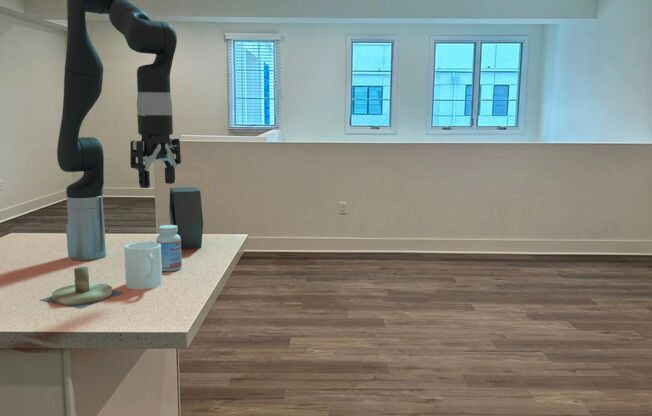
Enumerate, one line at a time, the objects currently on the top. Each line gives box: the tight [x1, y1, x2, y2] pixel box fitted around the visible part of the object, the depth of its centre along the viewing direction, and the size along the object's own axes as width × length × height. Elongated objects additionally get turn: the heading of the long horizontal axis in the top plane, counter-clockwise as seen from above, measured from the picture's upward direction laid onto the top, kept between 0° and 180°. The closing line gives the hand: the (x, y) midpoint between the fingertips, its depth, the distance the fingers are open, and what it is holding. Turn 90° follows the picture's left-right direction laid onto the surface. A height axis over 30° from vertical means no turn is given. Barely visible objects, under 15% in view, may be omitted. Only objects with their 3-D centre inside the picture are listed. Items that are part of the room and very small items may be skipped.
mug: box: [123, 241, 163, 290], centre depth 133 cm, size 8×12×10 cm
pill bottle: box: [156, 224, 183, 272], centre depth 150 cm, size 6×6×11 cm
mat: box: [39, 289, 125, 310], centre depth 126 cm, size 12×12×1 cm
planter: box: [168, 186, 204, 250], centre depth 177 cm, size 17×8×21 cm
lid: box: [51, 266, 113, 306], centre depth 126 cm, size 12×12×6 cm
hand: (157, 185), depth 133 cm, fingers open, 8 cm apart
